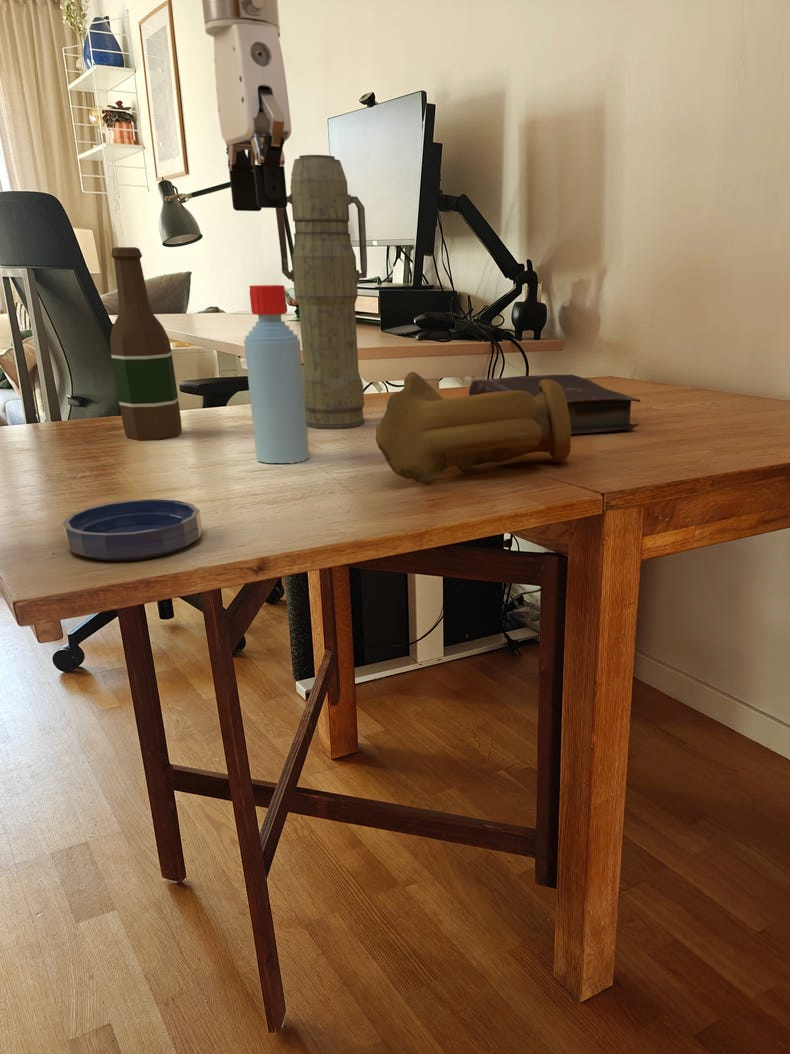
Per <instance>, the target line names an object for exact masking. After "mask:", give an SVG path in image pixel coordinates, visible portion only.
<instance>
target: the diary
mask: <svg viewBox="0 0 790 1054" xmlns="http://www.w3.org/2000/svg"><path fill="white" fill-rule="evenodd" d="M544 379H548V380H553V381H556V382H557V383H558V384H560V385H561V387H562V388H563V391H564V394H565V397H566V401H567V406H568V411H569V417H570V425H571V435H577V434H592V433H593V434H595V433H607V432H617V431H624V430H625V431H626V430H631V429H634V428H636V427H638V426H639V425H640V424H639V422H637V423H631V410H632V402H638V403H641V399H639V398H636V397H633V396H630V395H627V394H624V393H621V392H617V391H615V390H612V389H609V388H605V387H604V386H601V385H599V384H598V383H595V382H594V381H592V380H590V379H588V378H585V377H583V376H578V375H575V374H540V375H538V374H537V375H536V374H535V375H519V376H518V375H517V376H507V377H498V378H488V379H473V381H472V382H471V384H470V386H469V388H468V389H469V390H468V396H471V395H478V394H484V393H491V392H501V391H525V392H528V393H530V394H532V395H533V396H534V397H536V396H537V395H538V394H539V382H540V381H541V380H544Z"/></svg>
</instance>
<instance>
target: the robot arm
mask: <svg viewBox="0 0 790 1054" xmlns="http://www.w3.org/2000/svg"><path fill="white" fill-rule="evenodd" d="M278 2H279V1H278V0H201V3H202V12H203V13H202V14H203V21H204V22H203V23H204V31H205V33H206V35H208V36H210V37H212V38H213V55H214V56H213V57H214V58H213V61H214V75H215V89H216V100H217V113H218V121H219V128H220V133H221V137H222V140H223V141H224V142H225V146H226V149H225V150H226V151H225V152H226V153H225V154H226V155H227V167H228V172H229V173H228V174H229V183H230V191H231V201H232V208H233V211H237V212H260V211H262V209H276V208H284V209H286V208H287V207H288V203H287V196H288V195H287V182H286V171H285V163H286V156H285V153H284V149H283V148H284V145H285V142H286V141H287V140H289V138H290V137H291V135H292V122H291V112H290V102H289V94H288V85H287V78H286V71H285V64H284V59H283V58H284V57H283V52H282V46H281V41H280V37H281V26H280V13H279V3H278ZM246 151H247V153H246Z"/></svg>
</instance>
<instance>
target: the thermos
mask: <svg viewBox="0 0 790 1054" xmlns="http://www.w3.org/2000/svg"><path fill="white" fill-rule="evenodd" d="M291 170H292V171H291V173H290V176H291V177H290V187H289V188H290V194H289V195H287V204H290V205H291V213H292V222H294V230H295V231H294V233H293V236H294V244H293V248H292V252H291V268H292V269H291V270H289V269H290V268H289V258H288V250H287V249H288V247H287V235H286V234H287V233H286V225H285V212H284V211H285V208H275V215H276V224H277V225H276V226H277V234H278V241H279V250H280V259H281V262H280V263H281V273H282V274H283V275H284V277H286V278H287V279H288V280H289V281H291V282H292V283H293V293H294V298H295V300H296V302H297V304H298V314H299V324H300V325H299V326H300V337H301V339H300V340H301V350H302V365H303V386H304V398H305V410H306V423H307V427H308V428H313V429H320V430H321V429H322V430H339V429H340V430H341V429H351V428H356V427H359V426H363V425H364V424H365V419H364V406H365V395H364V394H365V393H364V384H363V380H362V377H361V375H360V370H359V355H358V335H357V334H358V333H357V316H356V302H357V299H358V298H359V293H358V291H359V290H358V282H360V280H361V279H362V280H363V279H367V277H368V252H367V251H368V249H367V231H366V212H365V211H366V210H365V208H366V207H365V206H364V205H363V203H362V202H361V200H360V199H359V198H358V196H355V195H351V194H349V191H348V190H349V188H348V180H347V177H346V173H345V171H344V168H343V165H342V162H341V160H340V159H337V158H336V157H335V156H333V155H327V154H303V155H302V154H301V155H299V156H298V158H295V159H294V160H293V165H292V169H291ZM352 204H355V207H356V209H357V224H358V247H359V263H360V265H359V266H360V270H359V269H357V256H356V254H355V250H354V248H353V245H352V243H351V241H352V240H351V233H349V222H350V208H349V207H350V206H351V205H352ZM349 205H350V206H349ZM360 271H361V272H360Z"/></svg>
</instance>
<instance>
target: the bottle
mask: <svg viewBox="0 0 790 1054" xmlns="http://www.w3.org/2000/svg"><path fill="white" fill-rule="evenodd" d="M257 316H258V317H257V318H258V321H256V322H255V325H253V326H251V327H252V330H249V331H248V334H247V335H245V339H244V341H243V345H244V353H245V354H244V355H245V363H246V372H247V382H248V392H249V400H250V401H249V402H250V409H251V419H252V428H253V437H254V438H253V439H254V447H255V456H256V461H257V460H258V461H261V462H268V463H290V462H298V461H303V460H306V459H308V458H309V459H310V449H309V438H308V437H309V436H308V426H307V423H306V410H305V398H304V386H303V376H304V373H303V367H302V366H303V361H302V352H301V350H302V348H301V339H299V338H298V337H299V336H298V334H296V333H295V332H294V330H293V329H290V325H286V321H284V320H282V314H275V315H258V314H257ZM309 459H308V460H309ZM258 461H257V462H258ZM306 461H307V460H306ZM261 462H260V463H261ZM303 462H304V461H303ZM298 463H299V462H298Z"/></svg>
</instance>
